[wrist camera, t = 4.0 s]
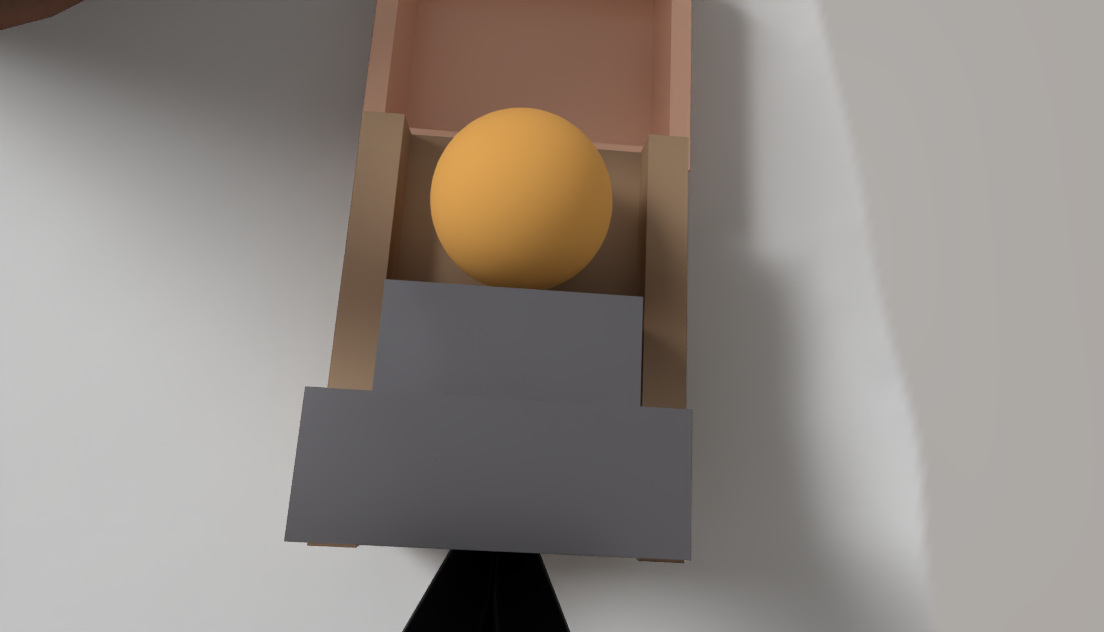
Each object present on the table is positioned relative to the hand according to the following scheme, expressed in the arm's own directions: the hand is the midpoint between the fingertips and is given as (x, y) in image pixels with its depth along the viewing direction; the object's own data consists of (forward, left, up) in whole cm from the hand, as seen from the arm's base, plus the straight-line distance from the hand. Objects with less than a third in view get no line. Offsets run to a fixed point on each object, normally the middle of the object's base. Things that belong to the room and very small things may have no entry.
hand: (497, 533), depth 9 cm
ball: (+6, +2, -3) cm, 7 cm away
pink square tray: (+13, +4, -9) cm, 17 cm away
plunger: (+2, +1, -5) cm, 5 cm away
